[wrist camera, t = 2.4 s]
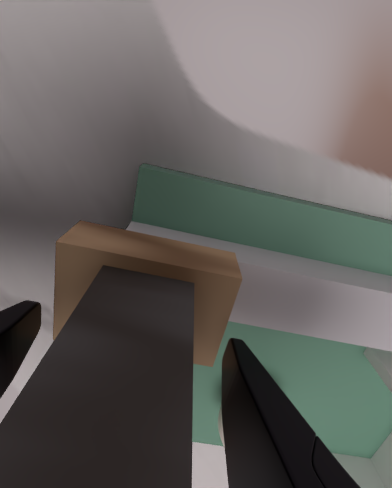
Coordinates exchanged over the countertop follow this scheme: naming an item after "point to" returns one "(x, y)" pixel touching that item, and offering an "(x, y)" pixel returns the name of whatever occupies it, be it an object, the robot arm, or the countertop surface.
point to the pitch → (294, 306)
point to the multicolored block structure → (119, 363)
